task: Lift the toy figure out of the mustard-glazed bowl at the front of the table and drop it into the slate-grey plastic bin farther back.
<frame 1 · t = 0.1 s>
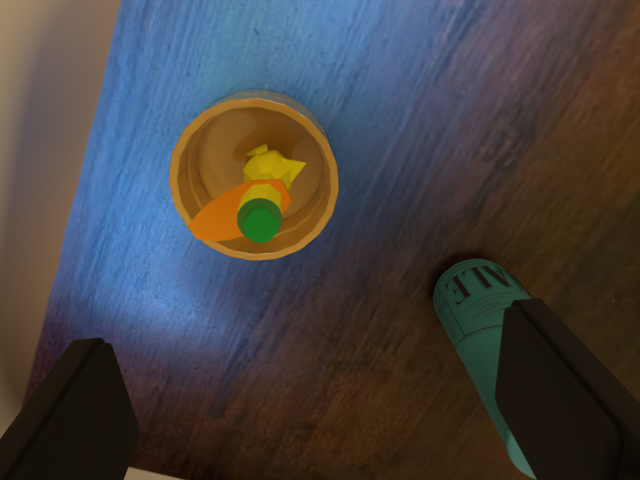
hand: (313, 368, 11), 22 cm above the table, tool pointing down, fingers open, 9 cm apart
beverage bottle: (463, 281, 36), on the table
toy figure: (260, 164, 31), resting on mustard bowl
mustard bowl: (260, 164, 31), on the table
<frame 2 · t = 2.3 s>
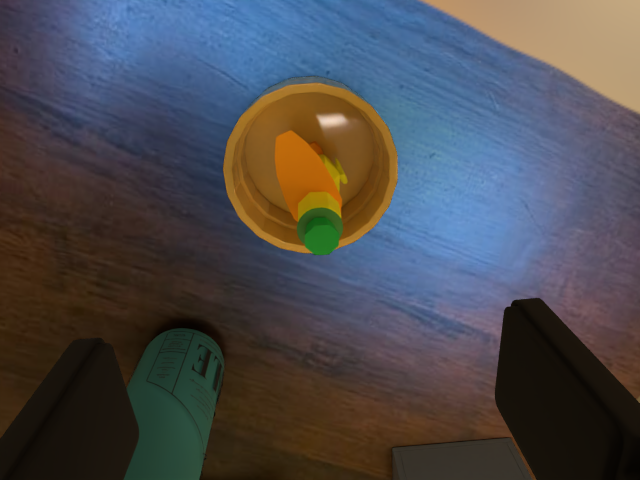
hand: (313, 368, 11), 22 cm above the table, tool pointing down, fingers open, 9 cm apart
beverage bottle: (191, 345, 37), on the table
toy figure: (309, 154, 30), resting on mustard bowl
mustard bowl: (309, 154, 30), on the table
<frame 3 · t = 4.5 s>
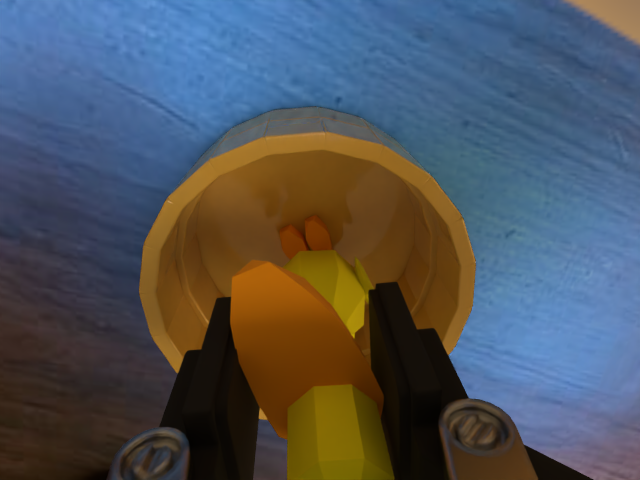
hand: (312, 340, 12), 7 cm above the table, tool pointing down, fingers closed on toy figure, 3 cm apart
toy figure: (306, 235, 18), resting on mustard bowl, touching gripper
mustard bowl: (306, 234, 18), on the table
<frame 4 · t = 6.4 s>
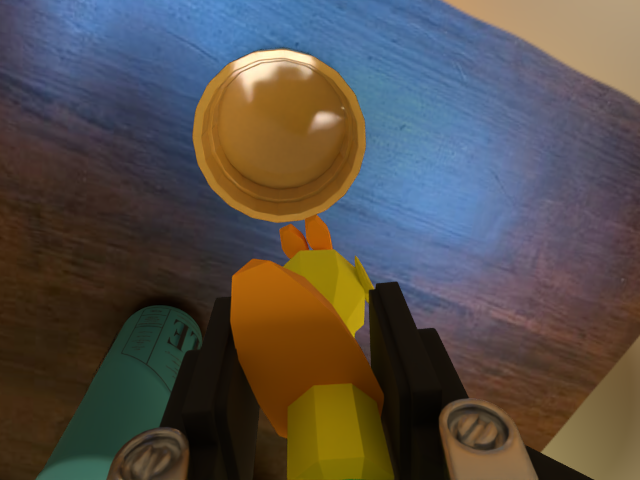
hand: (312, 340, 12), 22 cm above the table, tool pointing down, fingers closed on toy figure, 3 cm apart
beverage bottle: (169, 324, 37), on the table
toy figure: (307, 235, 18), point 15 cm above the table, touching gripper
mustard bowl: (281, 127, 31), on the table
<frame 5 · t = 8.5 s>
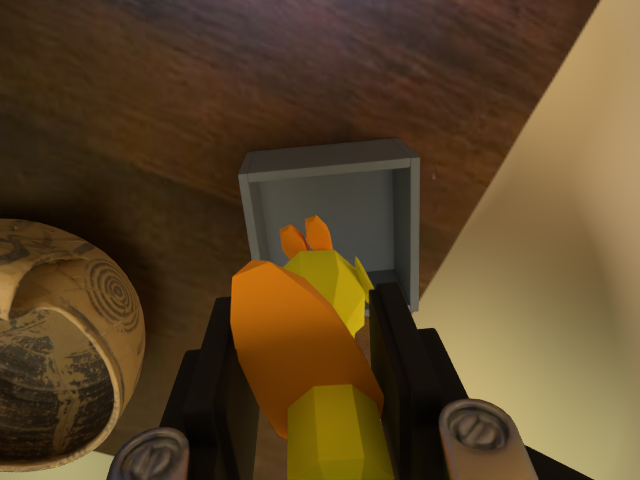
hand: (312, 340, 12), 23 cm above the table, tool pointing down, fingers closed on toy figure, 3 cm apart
grey bin: (328, 215, 35), on the table
ceramic bowl: (63, 286, 36), on the table
toy figure: (307, 235, 18), point 16 cm above the table, touching gripper
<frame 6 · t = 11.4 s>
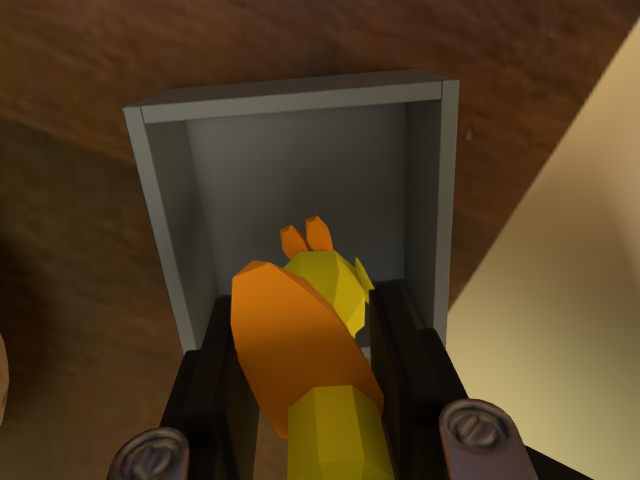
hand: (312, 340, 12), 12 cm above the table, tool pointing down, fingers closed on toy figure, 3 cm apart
grey bin: (303, 195, 23), on the table
toy figure: (307, 236, 18), point 5 cm above the table, touching gripper
when the fingers open (7 cm above the table, at t = 12.9 s): toy figure stays where it is, resting on grey bin.
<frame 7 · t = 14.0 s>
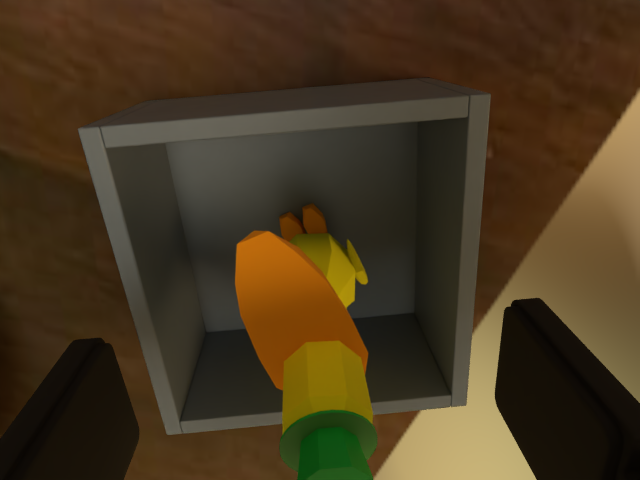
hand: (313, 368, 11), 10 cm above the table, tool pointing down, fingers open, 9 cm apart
grey bin: (301, 221, 20), on the table
toy figure: (304, 222, 19), resting on grey bin
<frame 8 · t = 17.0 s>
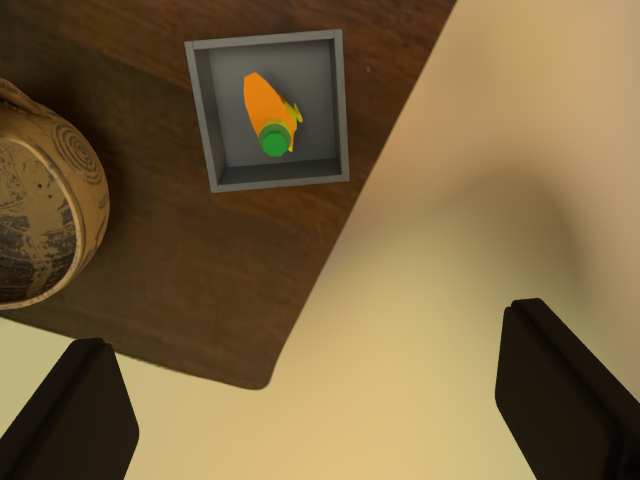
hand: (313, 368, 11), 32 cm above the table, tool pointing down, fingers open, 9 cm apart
grey bin: (275, 105, 39), on the table
ceramic bowl: (40, 170, 41), on the table
toy figure: (277, 105, 39), resting on grey bin
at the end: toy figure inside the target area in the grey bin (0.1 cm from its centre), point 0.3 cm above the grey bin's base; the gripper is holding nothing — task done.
